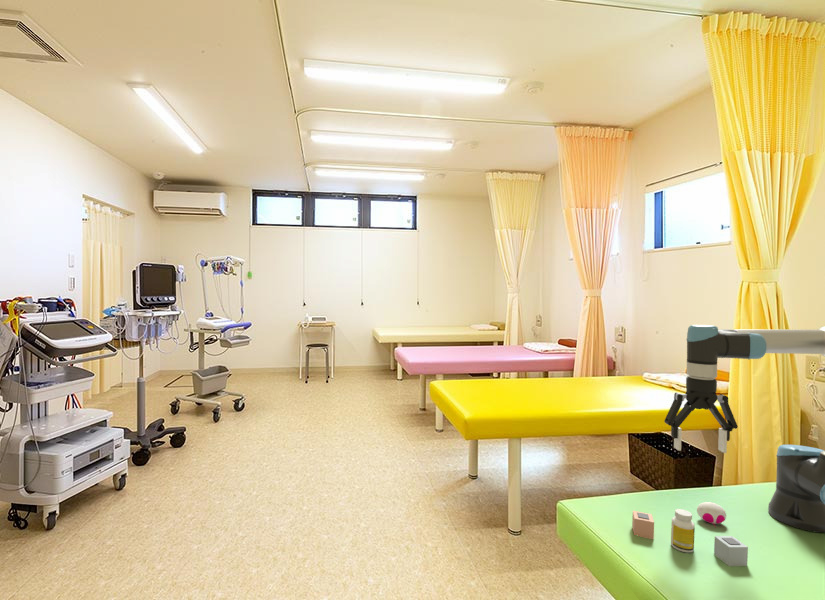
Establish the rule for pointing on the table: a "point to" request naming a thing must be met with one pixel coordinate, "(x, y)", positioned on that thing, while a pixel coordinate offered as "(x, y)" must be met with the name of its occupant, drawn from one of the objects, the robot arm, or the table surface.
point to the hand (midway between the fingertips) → (699, 450)
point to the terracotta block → (643, 524)
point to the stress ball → (711, 512)
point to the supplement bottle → (682, 531)
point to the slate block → (731, 551)
